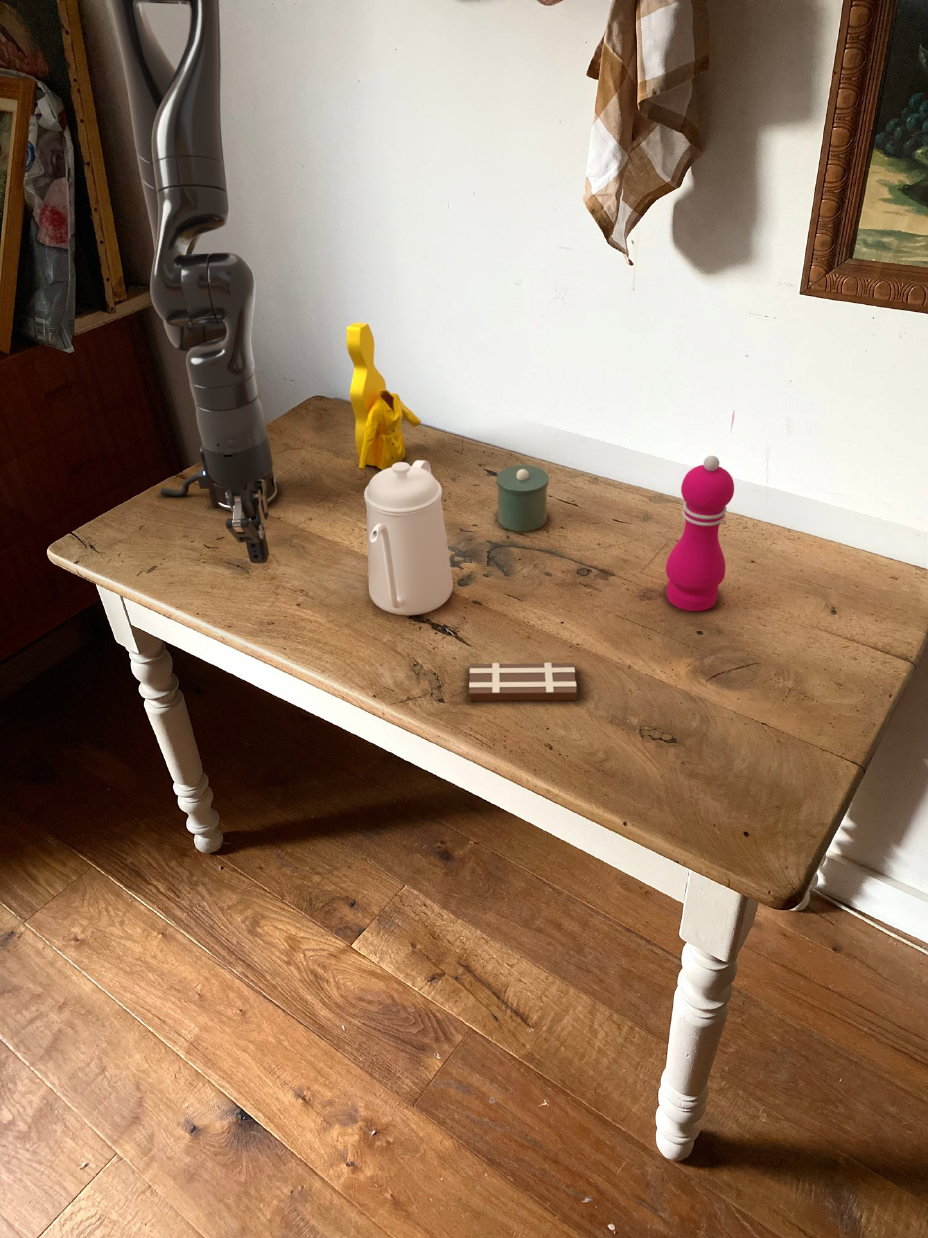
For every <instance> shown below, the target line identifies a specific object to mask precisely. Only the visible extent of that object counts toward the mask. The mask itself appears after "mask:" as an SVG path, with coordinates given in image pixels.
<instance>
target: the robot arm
mask: <svg viewBox="0 0 928 1238" xmlns="http://www.w3.org/2000/svg"><path fill="white" fill-rule="evenodd" d="M108 2H109V7H110V11H111V16H112V21H113V25H114V30H115V33H116V34H115V35H116V38H117V42H118V48H119V52H120V55H121V62H122V66H123V72H124V75H125V76H124V78H125V83H126V89H127V96H128V103H129V104H128V105H129V111H130V117H131V126H132V133H133V139H134V149H135V152H136V159H137V164H138V170H139V175H140V176H139V177H140V180H141V181H140V182H141V186H142V190H143V196H144V200H145V205H146V208H147V214H148V220H149V224H150V230H151V235H152V242H153V249H154V251H153V252H154V254H153V260H152V265H151V271H150V281H149V291H150V298H151V303H152V305H153V308H154V310H155V312H156V313H157V314H158V316H159V318H160V319H161V320H162V323H163V327H164V330H165V333H166V336H167V338H168V341H170V343H171V345H172V346H173V347H174V348H175V349H176V350H178V351H180V352H187V353H186V357H185V366H186V371H187V376H188V379H189V381H188V382H189V383H188V384H189V389H190V393H191V398H192V403H193V406H194V410H195V417H196V424H197V425H196V426H197V428H198V434H199V438H200V442H201V447H200V448H199V455H200V459H201V463H202V465H201V467H200V469H199V471H198V473H196V474H193V475H190V476H189V477H188V478H187V477H186V479H185V480H184V481H183V482H182V487H181V489H171V488H166V487H165V488H164V487H162V488H161V489H160V494H161V495H162V496H163V495H164V496H170V497H183V496H186V495H187V494H188V493H189V491H190V485H191V484H193V483H195V482H197V483H198V486H199V490H208V492H209V498H210V501H211V506H212V507H213V508H214V507H216V508H221V509H223V510H226V511H230V512H231V515H232V518H226V520H225V527H226V530H227V531H228V532H229V533H230V534H231V535H232V536H233V537H234V539H235V540H236V541H237V542H238V543H239V544H242V543H243V544H244V543H245V544H246V550H247V553H248V554H247V555H248V559H249V562H250V563H251V564H265V563H267V562H268V559H269V556H270V552H269V546H268V541H267V535H266V531H267V528H268V527H267V526H268V525H267V523H266V520H268V519H269V504H271V503H272V502H273V501H274V500H275V499H276V497H277V495H278V487H277V484H276V481H277V480H276V479H277V476H276V472H275V471H274V467H273V466H274V462H273V455H272V451H271V450H272V449H271V445H270V439H269V434H268V429H267V424H266V418H265V413H264V408H263V406H262V402H261V396H260V392H259V385H258V380H257V374H256V365H255V359H254V353H253V346H252V345H253V344H252V329H253V318H254V311H255V302H256V290H257V289H256V288H257V287H256V286H257V285H256V278H255V274H254V272H253V270H252V269H251V266H250V265H249V264H248V262H247V261H246V259H244V257H242V256H241V255H239V254H238V253H235V252H229V251H227V252H226V251H225V252H224V251H223V252H212V253H210V252H209V253H208V252H207V253H194V252H195V249H196V248H197V246H198V244H199V242H200V240H201V238H202V236H203V234H207V233H209V232H212V231H216V230H219V229H221V228H223V227H225V226H226V225H227V224H228V223H229V221H230V216H231V214H230V213H231V209H230V198H229V197H230V196H229V191H228V180H227V179H228V178H227V171H226V161H225V152H224V143H223V126H222V70H223V69H222V68H223V67H222V62H223V61H222V60H223V59H222V56H223V55H222V12H221V0H108ZM144 4H164V5H165V4H166V5H180V4H181V5H185V6H188V9H189V10H188V11H189V13H188V15H189V16H188V17H189V18H188V31H187V36H186V41H185V45H184V49H183V51H182V54H181V57H180V59H179V62H178V64H177V67H175V65H174V64H173V63H172V61H171V60H170V58H169V57H168V55H167V54H166V51H165V50H164V49H163V47H162V45H161V43H160V42H159V40H158V37H157V36H156V33H155V31H154V29H153V27H152V25H151V23H150V20H149V18H148V15H147V12H146V10H145V7H144Z"/></svg>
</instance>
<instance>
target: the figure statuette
mask: <svg viewBox="0 0 928 1238" xmlns="http://www.w3.org/2000/svg"><path fill="white" fill-rule="evenodd" d="M346 349H347V353H348V356H349V357H350V359H351V361H352V364H353V374H352V379H351V384H350V388H349V399H350V404H351V407H352V410H353V413H354V417H355V429H354V434H355V435H354V438H355V440H354V441H355V448H356V449H355V450H356V453H357V457H358V460H359V462H358V469H359V470H365V468H366V465H367V466H373V467H376V468H378V469H379V470H381V471H383V470H385V469H388V468H391V467H392V465H393V464H395V463H398V462H403V460H404V458H405V457H406V446H405V440H404V434H403V431H402V421H403V420H404V421H406V423H408V424H409V425H410V426H411V427H412V428H415V427H417V426H419V425H420V424H421V423H422V420H421V419H420V418H419V417H418V416H417V415H415V413H414V412H413V411H412V410H411V409H409V407H407V406H406V405H405V404H404V403H403V401H402V399H401V397H400V395H399V394H398V393H395V392H390V391H389V390H388V389H387V385H386V380H385V379H384V377H383V375H382V374H381V373H380V371H378V369H377V368H376V366H375V363H374V362H375V361H374V359H375V339H374V335H373V333H372V329H371V327H370V325H369V324H368V323H364V322H353V323H352V324H350V325H349V326H347V327H346Z"/></svg>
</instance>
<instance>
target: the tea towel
mask: <svg viewBox="0 0 928 1238" xmlns="http://www.w3.org/2000/svg"><path fill="white" fill-rule="evenodd" d="M468 682H469V684H468V686H469V687H468V688H469V689H468V697H469V699H468V700H469V701H470V702H489V701H490V702H493V701H496V702H497V701H499V702H501V701H507V702H508V701H510V702H511V701H515V702H516V701H577V699H578V690H577V680H576V670H575V664H574V663H573V662H568V663H567V662H565V663H564V662H562V663H561V662H560V663H559V662H558V663H556V662H555V663H552V662H543V663H500V662H492V663H470V664H469V681H468Z"/></svg>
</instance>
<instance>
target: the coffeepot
mask: <svg viewBox="0 0 928 1238" xmlns="http://www.w3.org/2000/svg"><path fill="white" fill-rule="evenodd" d="M442 496H443V488H442V486H441V484H440V482H439V481H438V480H437V479H436V478H435V477H434V475H433V474H432V468H431V465H430V463H429V461H428V460H422V459H421V460H419V459H417V460H415V461H414V462H413V464H412V465H410V463H408V462H406V461H405V462H404V461H401V462H398V463H395V464H393V465H392V467H391V468H388V469H385V470H381V471H379V472H378V473H376V474H374V475H373V477H371V479H370V481H369V483H368V485H367V486H366V487H365V489H364V492H363V497H364V503H365V504H366V536H367V537H366V538H367V540H366V541H367V568H368V569H367V570H368V571H367V572H368V575H367V577H368V594H369V596H370V599H371V600H372V602H373V603H374V604H375V605H376V606H377V607H378V608H380V609H381V610H383V611H384V612H387V613H390V614H394V615H398V616H417V615H418V616H419V615H423V614H427V613H430V612H432V611H434V610H437V609H438V608H440V607H441V606H443V604H445V603H446V602H447V601H448V599H449V598H450V597H451V595H452V592H453V589H454V588H453V587H454V581H453V576H452V575H453V574H452V567H451V560H450V554H449V547H448V546H449V545H448V539H447V533H446V525H445V518H444V512H443V505H442Z"/></svg>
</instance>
